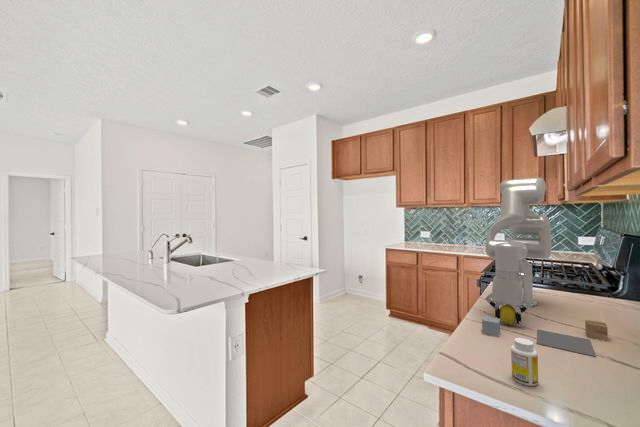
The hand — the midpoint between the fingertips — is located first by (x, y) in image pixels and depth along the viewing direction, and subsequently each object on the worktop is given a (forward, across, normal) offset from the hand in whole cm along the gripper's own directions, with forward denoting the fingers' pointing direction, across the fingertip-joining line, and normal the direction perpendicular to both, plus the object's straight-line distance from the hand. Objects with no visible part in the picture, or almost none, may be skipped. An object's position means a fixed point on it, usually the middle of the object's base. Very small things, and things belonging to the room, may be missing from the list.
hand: (507, 320), depth 107 cm
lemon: (+2, 0, 0) cm, 2 cm away
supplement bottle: (+1, -7, +40) cm, 41 cm away
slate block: (+2, +4, +12) cm, 13 cm away
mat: (+2, -16, +6) cm, 17 cm away
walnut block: (+2, -25, -6) cm, 26 cm away
